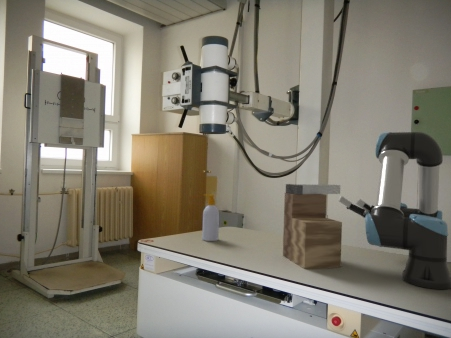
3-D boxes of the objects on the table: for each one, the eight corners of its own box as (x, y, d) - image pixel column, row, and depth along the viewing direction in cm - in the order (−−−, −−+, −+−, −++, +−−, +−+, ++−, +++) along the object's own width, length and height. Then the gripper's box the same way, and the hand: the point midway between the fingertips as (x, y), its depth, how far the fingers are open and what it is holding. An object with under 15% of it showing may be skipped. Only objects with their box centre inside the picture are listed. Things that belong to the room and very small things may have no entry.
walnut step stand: (340, 267, 138) (342, 197, 137) (304, 268, 133) (306, 197, 133) (315, 254, 157) (316, 193, 157) (282, 255, 153) (284, 192, 153)
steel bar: (343, 194, 155) (343, 185, 155) (296, 194, 144) (297, 185, 144) (330, 192, 163) (331, 184, 163) (285, 193, 151) (285, 184, 151)
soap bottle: (205, 237, 189) (207, 193, 189) (221, 239, 185) (222, 194, 185) (197, 239, 181) (199, 194, 181) (213, 241, 177) (215, 195, 177)
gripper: (397, 234, 149) (362, 210, 144) (361, 225, 173) (329, 203, 168) (405, 219, 150) (370, 194, 145) (368, 212, 174) (336, 190, 169)
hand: (348, 199), depth 157 cm, fingers open, 13 cm apart
